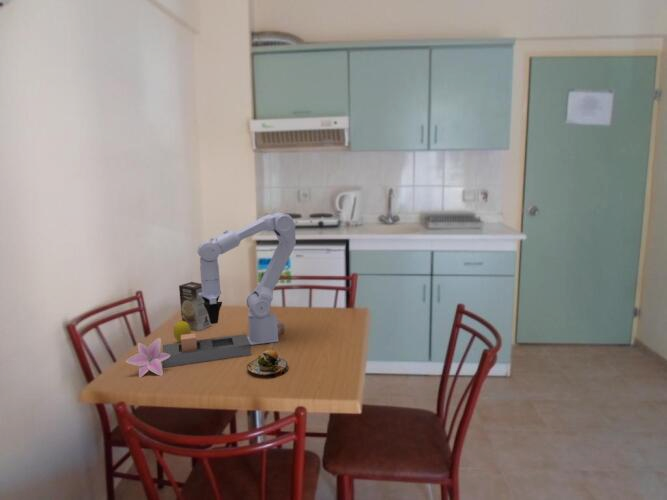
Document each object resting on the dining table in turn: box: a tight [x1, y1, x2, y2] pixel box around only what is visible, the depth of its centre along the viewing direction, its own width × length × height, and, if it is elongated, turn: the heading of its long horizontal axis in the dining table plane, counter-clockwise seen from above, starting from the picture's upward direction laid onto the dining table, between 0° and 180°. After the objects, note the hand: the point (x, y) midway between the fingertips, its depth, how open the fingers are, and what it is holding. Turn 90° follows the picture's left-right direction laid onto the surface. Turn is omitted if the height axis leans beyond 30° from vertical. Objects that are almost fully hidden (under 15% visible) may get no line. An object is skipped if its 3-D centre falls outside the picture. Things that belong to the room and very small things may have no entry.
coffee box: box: [178, 281, 212, 332], centre depth 181 cm, size 9×6×16 cm
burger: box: [246, 345, 289, 378], centre depth 142 cm, size 12×12×8 cm
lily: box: [125, 337, 171, 378], centre depth 143 cm, size 11×11×9 cm
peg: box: [180, 332, 197, 351], centre depth 152 cm, size 4×4×7 cm
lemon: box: [173, 319, 192, 343], centre depth 165 cm, size 6×6×8 cm
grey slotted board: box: [162, 333, 252, 368], centre depth 154 cm, size 26×10×4 cm, turn 108°
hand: (213, 319), depth 159 cm, fingers open, 7 cm apart
